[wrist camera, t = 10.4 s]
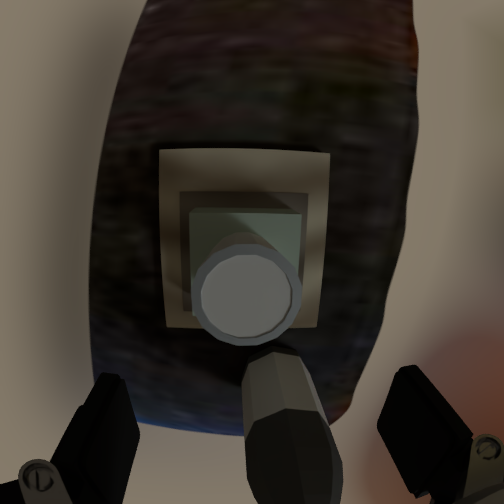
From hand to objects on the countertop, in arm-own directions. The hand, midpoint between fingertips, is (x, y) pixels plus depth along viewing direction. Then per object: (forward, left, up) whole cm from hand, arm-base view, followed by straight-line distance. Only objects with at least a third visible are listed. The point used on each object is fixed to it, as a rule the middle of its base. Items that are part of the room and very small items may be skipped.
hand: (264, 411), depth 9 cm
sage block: (0, 0, -20) cm, 20 cm away
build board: (-1, 0, -22) cm, 22 cm away
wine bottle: (+15, +4, -22) cm, 27 cm away
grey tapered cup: (0, 0, -17) cm, 17 cm away
